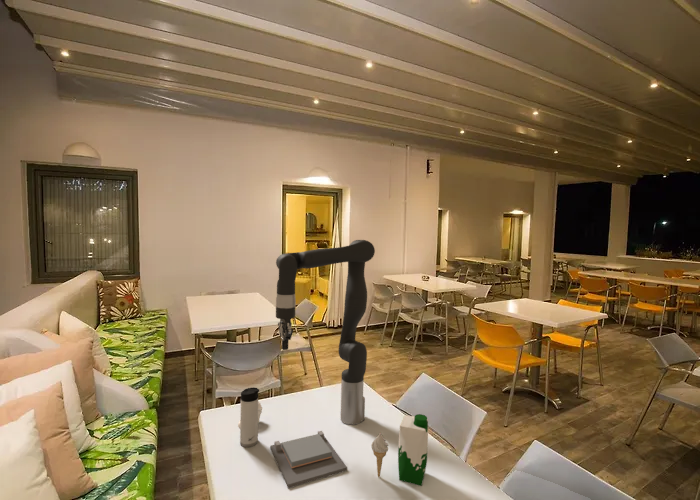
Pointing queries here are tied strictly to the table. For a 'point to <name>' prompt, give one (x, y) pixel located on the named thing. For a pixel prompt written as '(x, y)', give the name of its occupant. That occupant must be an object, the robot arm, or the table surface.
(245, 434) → the travel mug
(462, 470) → the table surface
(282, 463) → the base
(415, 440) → the milk carton
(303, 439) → the tile
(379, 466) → the ice cream cone
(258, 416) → the beige irregular lump
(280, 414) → the table surface
